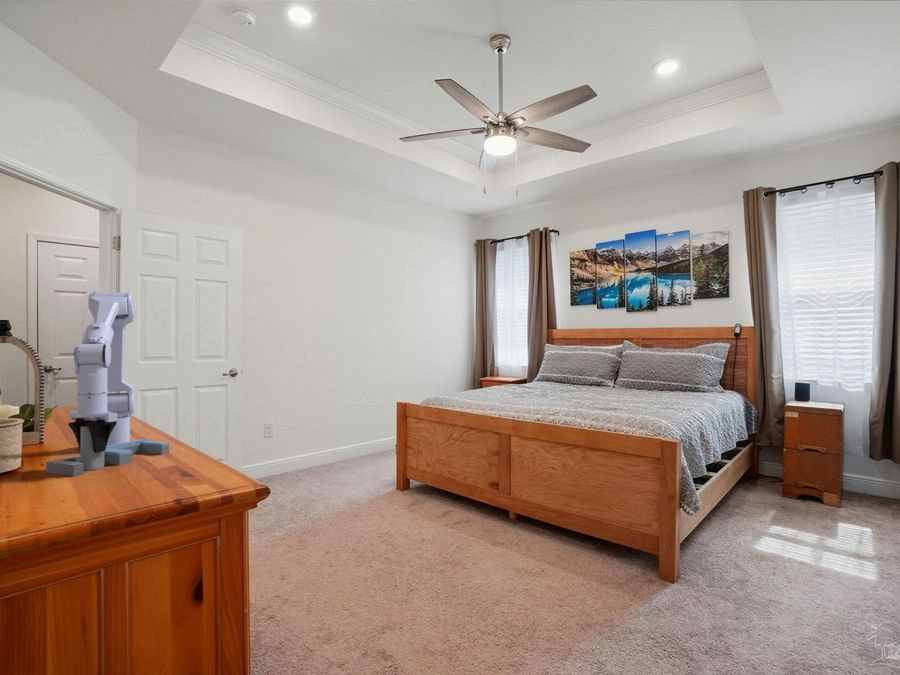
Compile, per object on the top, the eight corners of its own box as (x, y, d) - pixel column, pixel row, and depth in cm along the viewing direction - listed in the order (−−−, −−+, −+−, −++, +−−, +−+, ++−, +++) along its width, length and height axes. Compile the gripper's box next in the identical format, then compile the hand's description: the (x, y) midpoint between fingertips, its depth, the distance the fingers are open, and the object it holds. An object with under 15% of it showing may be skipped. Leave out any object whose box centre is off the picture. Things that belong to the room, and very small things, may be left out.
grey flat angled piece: (46, 472, 108) (46, 461, 108) (143, 451, 130) (143, 442, 130) (73, 476, 104) (73, 464, 105) (169, 454, 126) (169, 444, 126)
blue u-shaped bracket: (92, 452, 118) (92, 448, 118) (143, 442, 130) (143, 438, 130) (119, 455, 114) (119, 451, 114) (169, 444, 126) (169, 440, 126)
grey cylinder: (109, 466, 113) (109, 423, 114) (93, 471, 109) (93, 426, 109) (91, 465, 114) (92, 423, 114) (75, 470, 109) (75, 426, 110)
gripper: (54, 394, 111) (54, 452, 110) (94, 396, 105) (94, 456, 105) (86, 391, 117) (86, 446, 117) (126, 393, 112) (126, 450, 112)
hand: (92, 451), depth 111 cm, fingers closed on grey cylinder, 5 cm apart
